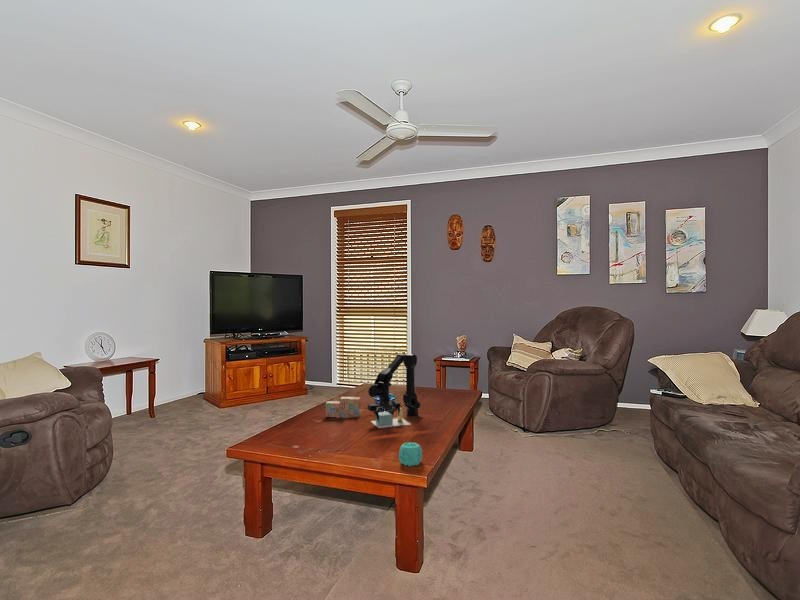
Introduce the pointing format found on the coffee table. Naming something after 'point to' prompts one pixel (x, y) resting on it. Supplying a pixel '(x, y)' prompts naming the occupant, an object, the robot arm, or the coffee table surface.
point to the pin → (400, 415)
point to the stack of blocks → (343, 407)
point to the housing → (385, 418)
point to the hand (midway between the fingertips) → (384, 421)
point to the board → (395, 423)
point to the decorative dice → (410, 454)
